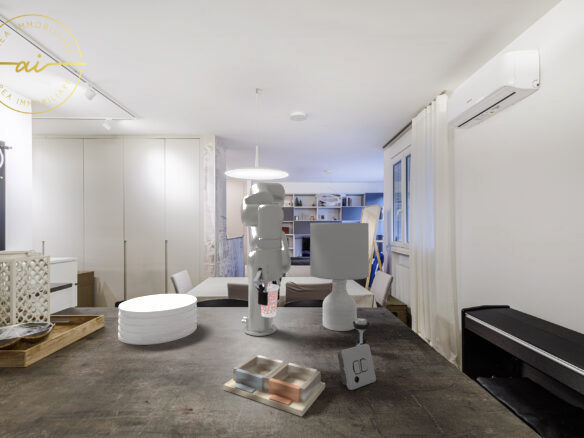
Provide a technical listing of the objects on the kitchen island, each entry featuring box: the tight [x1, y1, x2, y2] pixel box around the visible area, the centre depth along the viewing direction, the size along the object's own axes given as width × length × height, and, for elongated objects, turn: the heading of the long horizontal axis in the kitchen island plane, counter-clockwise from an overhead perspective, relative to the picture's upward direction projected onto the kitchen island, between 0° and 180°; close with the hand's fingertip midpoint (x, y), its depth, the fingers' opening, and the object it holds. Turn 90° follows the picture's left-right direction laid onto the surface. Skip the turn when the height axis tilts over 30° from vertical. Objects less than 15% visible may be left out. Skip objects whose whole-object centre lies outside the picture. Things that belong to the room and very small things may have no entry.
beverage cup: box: [261, 282, 279, 318], centre depth 92 cm, size 6×6×14 cm
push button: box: [353, 317, 370, 346], centre depth 97 cm, size 7×5×10 cm
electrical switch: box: [336, 343, 377, 391], centre depth 78 cm, size 9×5×9 cm, turn 121°
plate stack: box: [117, 293, 198, 346], centre depth 116 cm, size 28×28×12 cm
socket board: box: [222, 354, 326, 417], centre depth 74 cm, size 22×13×4 cm, turn 61°
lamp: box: [309, 222, 370, 332], centre depth 123 cm, size 24×24×42 cm
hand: (269, 301), depth 92 cm, fingers closed on beverage cup, 6 cm apart
